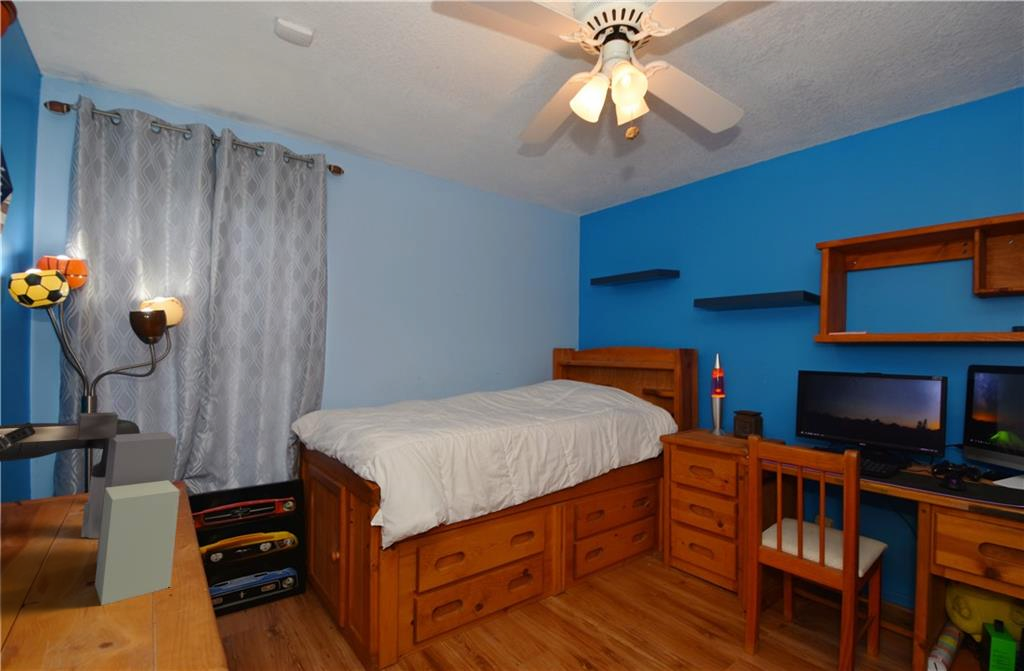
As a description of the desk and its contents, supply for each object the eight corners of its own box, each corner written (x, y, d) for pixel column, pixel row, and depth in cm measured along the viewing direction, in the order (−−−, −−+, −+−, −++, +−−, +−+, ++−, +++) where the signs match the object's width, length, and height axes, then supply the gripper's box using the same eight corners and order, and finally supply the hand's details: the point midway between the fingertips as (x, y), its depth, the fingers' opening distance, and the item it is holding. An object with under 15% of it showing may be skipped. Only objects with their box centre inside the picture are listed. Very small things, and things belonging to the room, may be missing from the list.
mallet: (-22, 446, 87) (-19, 419, 88) (-21, 441, 91) (-18, 416, 92) (115, 437, 102) (118, 415, 102) (111, 434, 106) (114, 412, 106)
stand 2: (101, 605, 98) (112, 499, 99) (94, 585, 106) (105, 487, 107) (170, 587, 106) (179, 490, 108) (159, 570, 114) (168, 480, 116)
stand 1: (102, 578, 109) (116, 442, 111) (96, 562, 117) (109, 435, 119) (164, 564, 118) (176, 438, 120) (154, 550, 126) (166, 431, 128)
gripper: (-114, 471, 77) (22, 415, 89) (-100, 456, 87) (21, 408, 98) (-83, 506, 80) (45, 447, 91) (-73, 488, 89) (42, 437, 101)
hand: (32, 427), depth 95 cm, fingers closed on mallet, 3 cm apart
